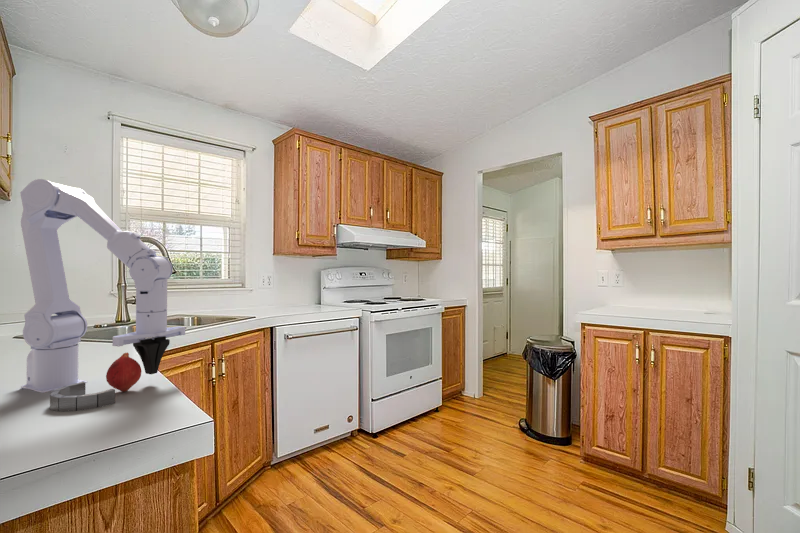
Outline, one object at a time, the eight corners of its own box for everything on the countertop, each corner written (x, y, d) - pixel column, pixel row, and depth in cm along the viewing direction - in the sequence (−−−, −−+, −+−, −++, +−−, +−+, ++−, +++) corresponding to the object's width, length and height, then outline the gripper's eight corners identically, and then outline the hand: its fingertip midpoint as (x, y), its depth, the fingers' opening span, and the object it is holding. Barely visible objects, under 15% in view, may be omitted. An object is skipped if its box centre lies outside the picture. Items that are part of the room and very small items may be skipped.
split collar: (38, 406, 70) (38, 391, 70) (82, 394, 76) (82, 381, 76) (70, 416, 65) (70, 401, 65) (115, 403, 71) (115, 389, 71)
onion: (111, 398, 74) (111, 357, 74) (102, 392, 77) (102, 353, 77) (145, 390, 79) (145, 352, 79) (135, 385, 82) (135, 348, 82)
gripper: (127, 316, 75) (127, 385, 75) (194, 308, 88) (194, 367, 88) (106, 314, 78) (106, 380, 78) (174, 307, 91) (173, 363, 91)
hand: (151, 373), depth 83 cm, fingers closed
